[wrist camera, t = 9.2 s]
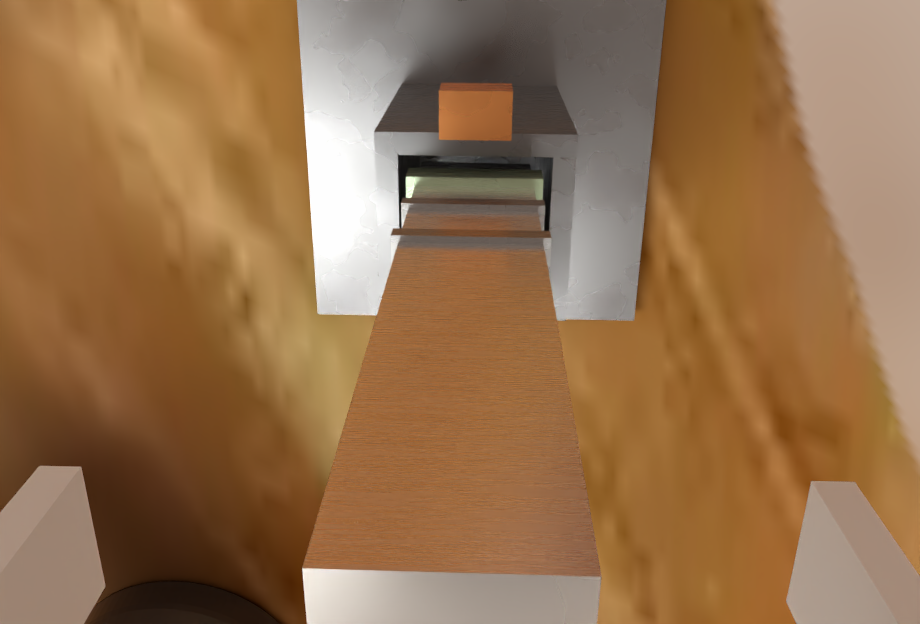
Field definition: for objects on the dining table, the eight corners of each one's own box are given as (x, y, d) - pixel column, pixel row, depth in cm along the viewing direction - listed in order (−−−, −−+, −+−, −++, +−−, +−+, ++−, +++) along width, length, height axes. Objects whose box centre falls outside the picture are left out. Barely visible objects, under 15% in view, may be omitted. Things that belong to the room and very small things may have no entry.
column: (415, 270, 33) (301, 786, 13) (413, 154, 31) (277, 549, 11) (533, 272, 33) (599, 797, 13) (538, 155, 31) (625, 559, 11)
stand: (321, 306, 44) (264, 431, 33) (299, -26, 38) (220, -8, 26) (630, 312, 44) (678, 441, 33) (664, -22, 37) (737, -2, 26)
